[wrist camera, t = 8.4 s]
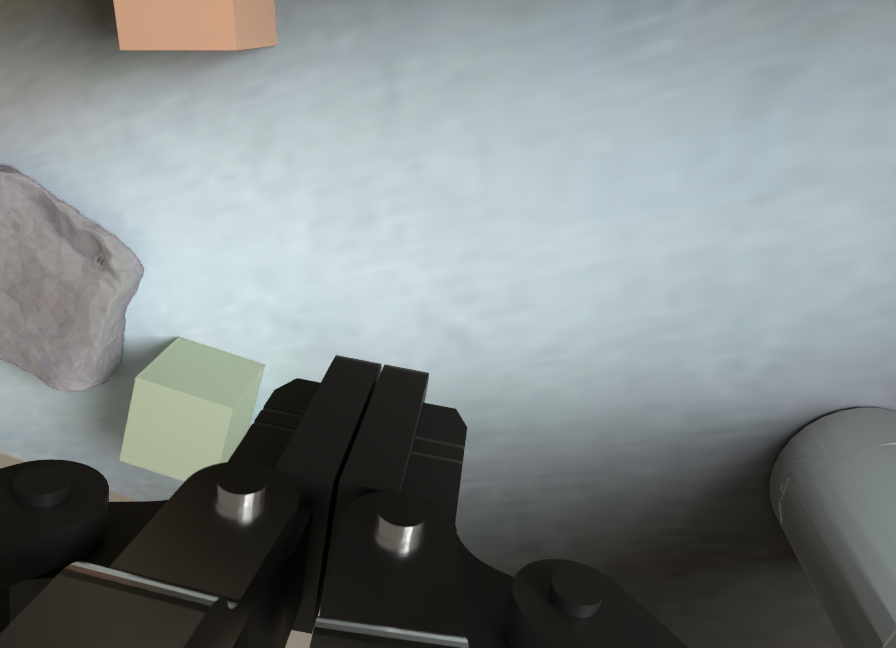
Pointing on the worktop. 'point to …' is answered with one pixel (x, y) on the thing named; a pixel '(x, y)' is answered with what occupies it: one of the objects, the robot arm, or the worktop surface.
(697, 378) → the worktop surface
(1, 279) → the stone block
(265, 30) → the terracotta block
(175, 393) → the sage block
